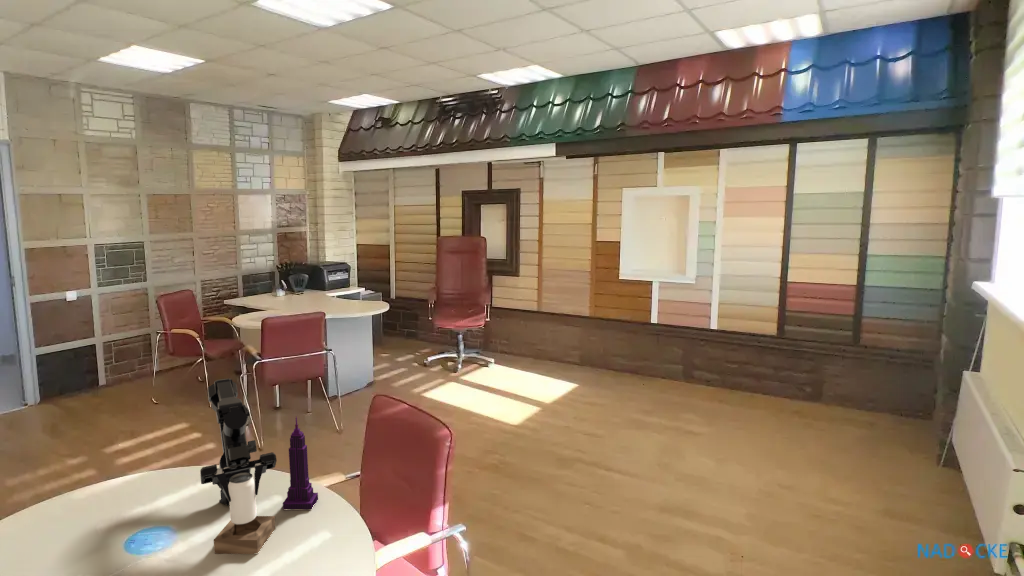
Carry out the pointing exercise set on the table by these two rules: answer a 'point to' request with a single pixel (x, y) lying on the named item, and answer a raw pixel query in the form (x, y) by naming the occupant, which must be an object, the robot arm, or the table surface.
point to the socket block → (244, 536)
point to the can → (242, 498)
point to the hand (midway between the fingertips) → (243, 498)
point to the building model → (299, 475)
